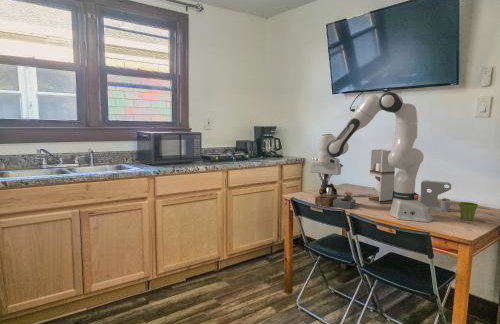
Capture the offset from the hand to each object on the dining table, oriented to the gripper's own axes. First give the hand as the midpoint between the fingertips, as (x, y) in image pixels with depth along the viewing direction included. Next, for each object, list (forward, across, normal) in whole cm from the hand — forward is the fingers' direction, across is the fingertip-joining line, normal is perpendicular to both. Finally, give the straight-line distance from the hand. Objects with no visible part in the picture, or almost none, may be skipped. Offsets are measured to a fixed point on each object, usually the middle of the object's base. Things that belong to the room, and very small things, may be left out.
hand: (324, 180), depth 219 cm
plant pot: (+16, +78, +16) cm, 81 cm away
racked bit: (+16, 0, +8) cm, 18 cm away
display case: (+16, +28, +31) cm, 45 cm away
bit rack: (+16, 0, +4) cm, 16 cm away
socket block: (+16, +12, +6) cm, 21 cm away
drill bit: (+8, 0, 0) cm, 8 cm away
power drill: (+16, -7, +30) cm, 35 cm away
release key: (+15, +12, +12) cm, 23 cm away
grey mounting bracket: (+16, +60, +31) cm, 70 cm away
